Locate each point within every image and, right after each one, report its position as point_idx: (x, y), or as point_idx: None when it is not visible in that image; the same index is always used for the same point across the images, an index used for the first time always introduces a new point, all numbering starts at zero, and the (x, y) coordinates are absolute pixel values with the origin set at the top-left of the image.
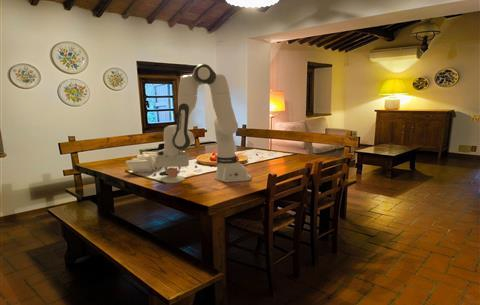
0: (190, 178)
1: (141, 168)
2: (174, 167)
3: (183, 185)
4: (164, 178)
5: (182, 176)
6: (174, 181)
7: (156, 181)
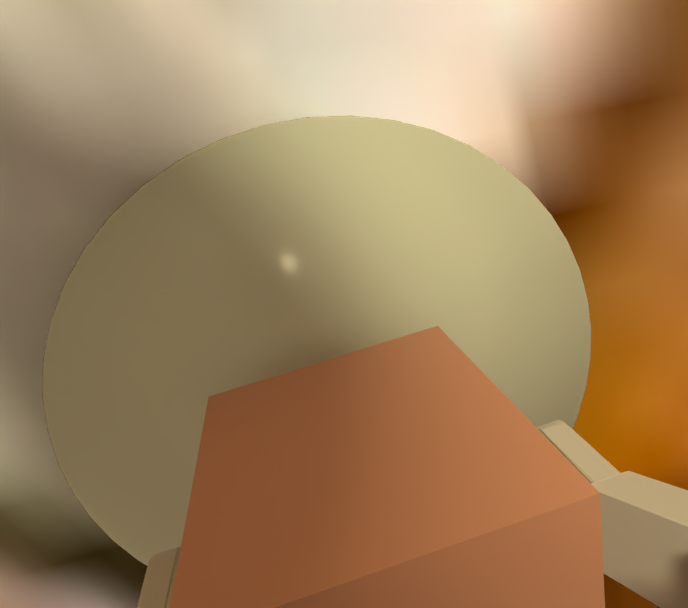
0: (677, 196)
1: None
2: (458, 545)
3: (611, 593)
4: (121, 453)
5: (504, 173)
6: None
7: (34, 576)
